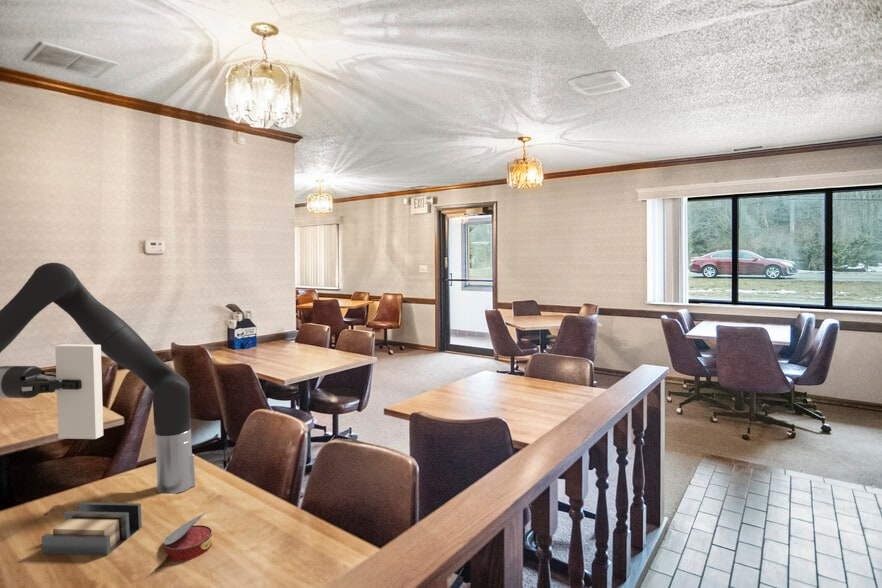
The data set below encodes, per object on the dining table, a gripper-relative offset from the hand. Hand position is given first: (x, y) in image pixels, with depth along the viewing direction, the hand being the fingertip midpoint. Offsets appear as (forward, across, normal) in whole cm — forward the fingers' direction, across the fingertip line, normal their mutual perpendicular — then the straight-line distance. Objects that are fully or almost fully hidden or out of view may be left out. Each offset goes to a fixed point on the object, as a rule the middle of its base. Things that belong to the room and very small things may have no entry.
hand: (85, 383), depth 115 cm
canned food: (+26, -3, +38) cm, 46 cm away
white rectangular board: (-1, 0, +13) cm, 13 cm away
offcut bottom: (+3, -5, +37) cm, 37 cm away
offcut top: (+3, -5, +34) cm, 35 cm away
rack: (+3, -3, +38) cm, 38 cm away
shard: (-15, +12, +39) cm, 43 cm away
